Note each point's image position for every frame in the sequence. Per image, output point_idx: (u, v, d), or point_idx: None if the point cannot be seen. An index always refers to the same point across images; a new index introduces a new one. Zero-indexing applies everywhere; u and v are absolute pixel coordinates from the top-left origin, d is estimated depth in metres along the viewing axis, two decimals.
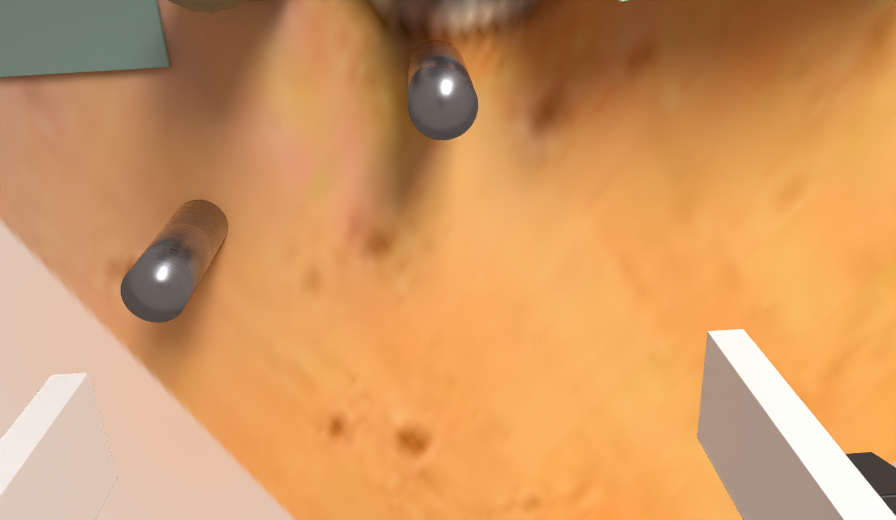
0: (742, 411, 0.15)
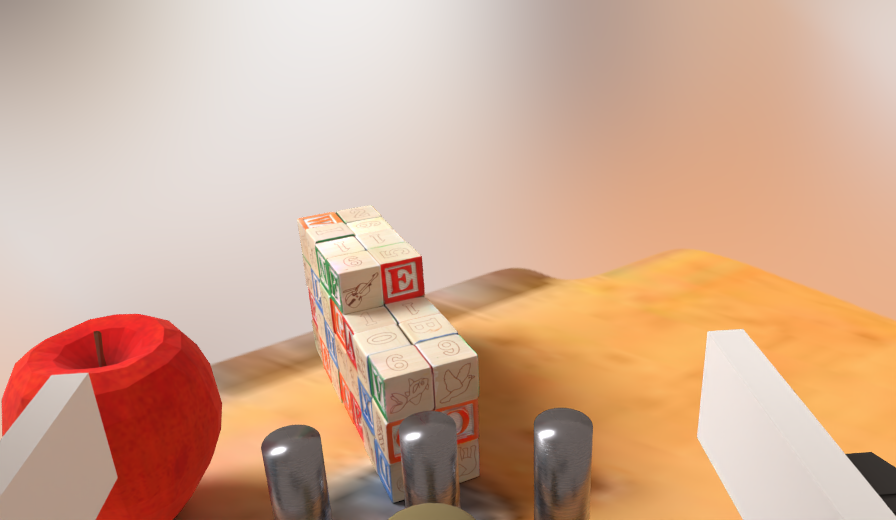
0: (741, 411, 0.15)
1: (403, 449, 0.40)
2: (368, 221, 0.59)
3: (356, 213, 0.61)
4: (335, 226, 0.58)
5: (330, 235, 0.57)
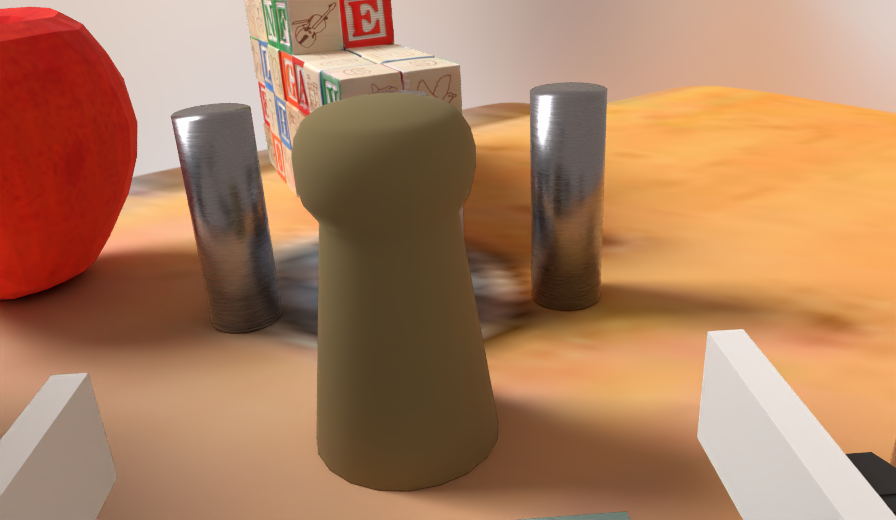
0: (741, 411, 0.15)
1: None
2: None
3: None
4: None
5: None
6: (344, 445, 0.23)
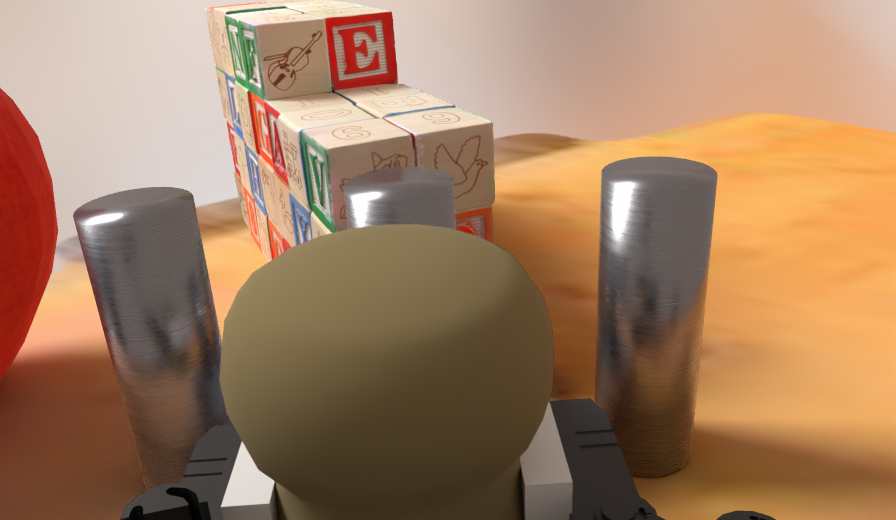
0: None
1: (351, 220, 0.21)
2: (310, 2, 0.39)
3: (294, 0, 0.41)
4: (259, 4, 0.38)
5: (250, 7, 0.37)
6: None
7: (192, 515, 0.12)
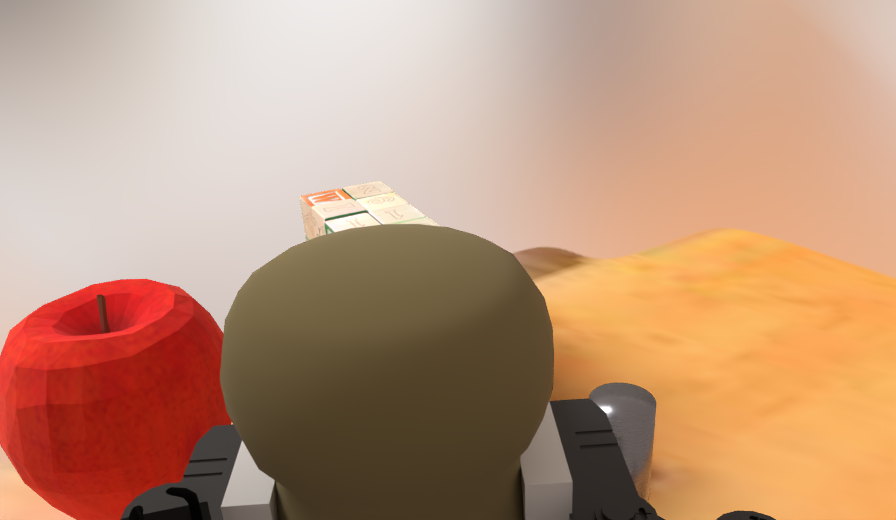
0: None
1: None
2: (380, 197, 0.54)
3: (365, 189, 0.55)
4: (344, 203, 0.52)
5: (340, 212, 0.51)
6: None
7: (192, 515, 0.12)
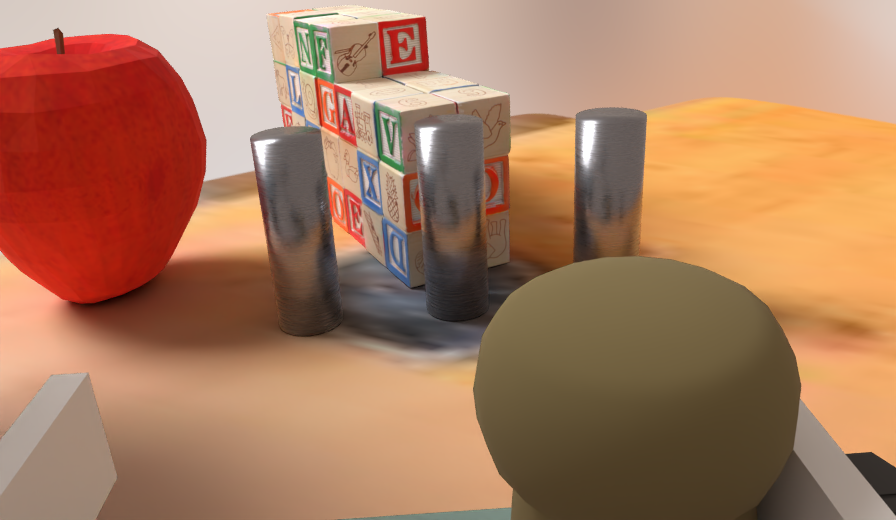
0: None
1: (419, 144, 0.33)
2: (352, 9, 0.51)
3: (336, 8, 0.52)
4: (315, 11, 0.49)
5: (310, 14, 0.48)
6: None
7: None
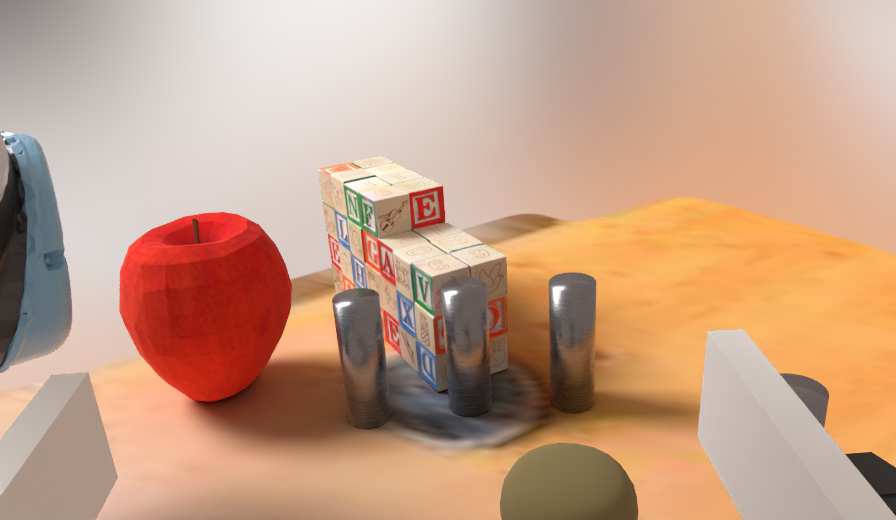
0: (742, 411, 0.15)
1: (445, 303, 0.50)
2: (384, 166, 0.67)
3: (371, 162, 0.69)
4: (356, 171, 0.65)
5: (355, 177, 0.64)
6: None
7: None
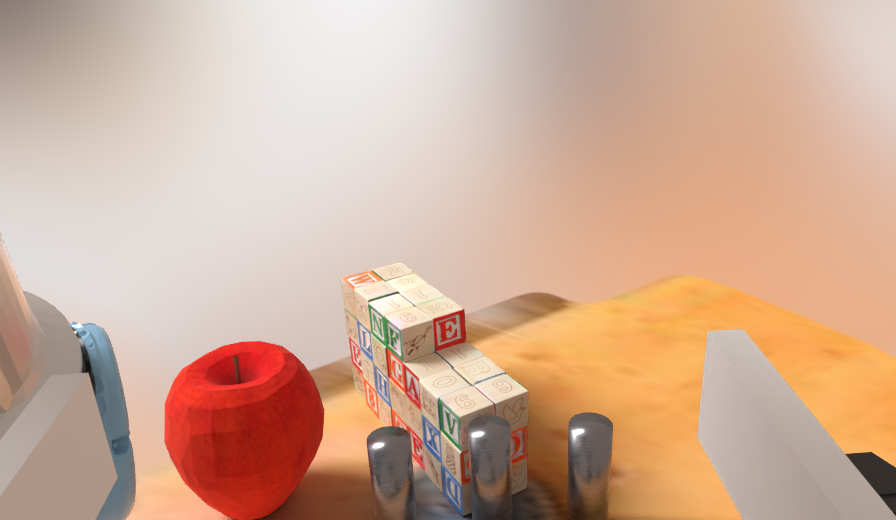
0: (742, 411, 0.15)
1: (471, 444, 0.53)
2: (404, 278, 0.70)
3: (391, 271, 0.71)
4: (379, 285, 0.68)
5: (378, 293, 0.67)
6: None
7: None
